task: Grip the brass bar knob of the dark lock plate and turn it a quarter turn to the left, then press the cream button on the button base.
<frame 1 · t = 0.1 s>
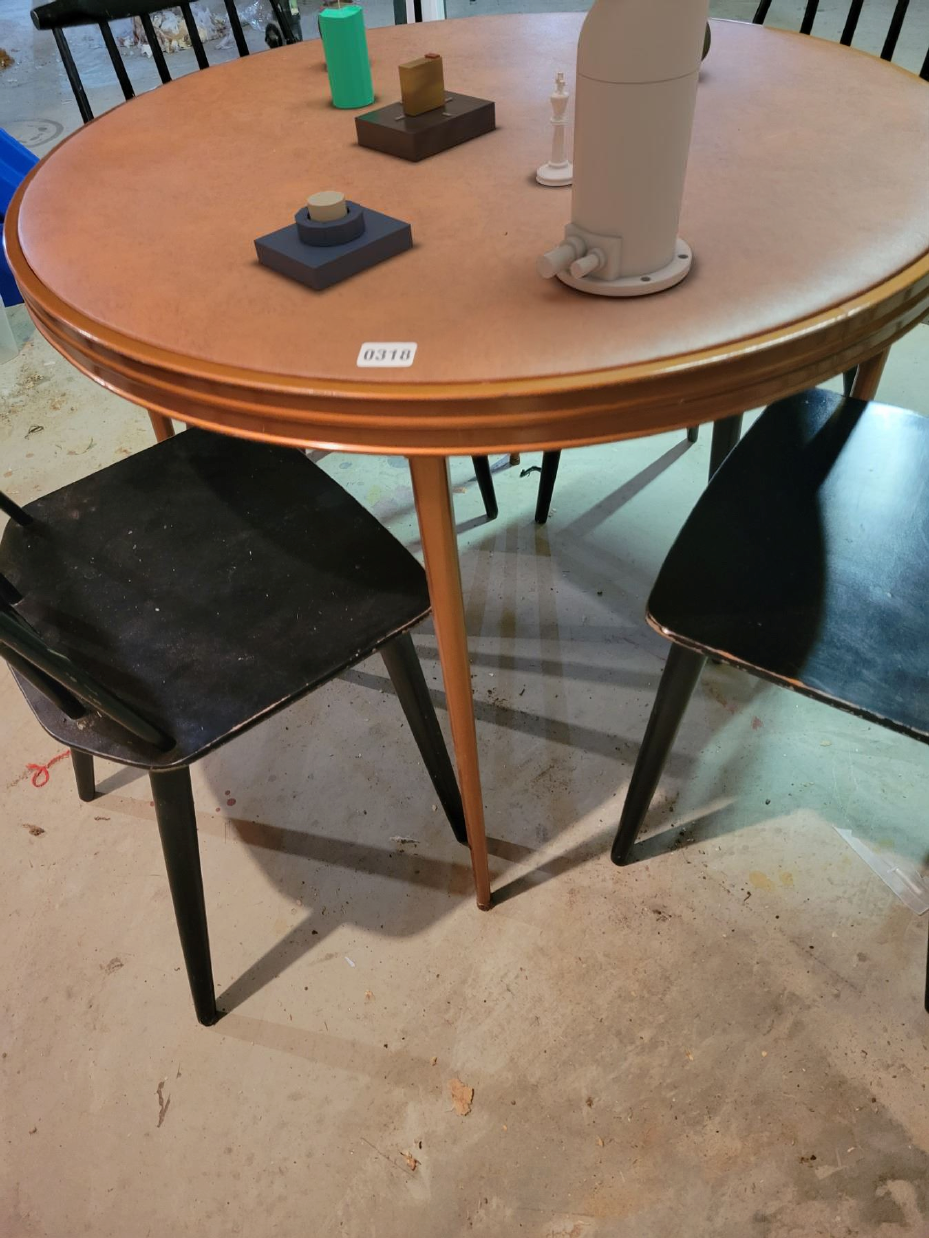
fruit: (660, 77, 109), on the table
mate gourd: (344, 67, 124), on the table
button base: (336, 254, 77), on the table
candle: (354, 103, 111), on the table
lock plate: (427, 136, 99), on the table
chess piece: (557, 180, 87), on the table
bell button: (327, 207, 74), point 4 cm above the table, slide at 0.1 cm
lock knob: (422, 84, 95), point 6 cm above the table, hinge at 0.0°
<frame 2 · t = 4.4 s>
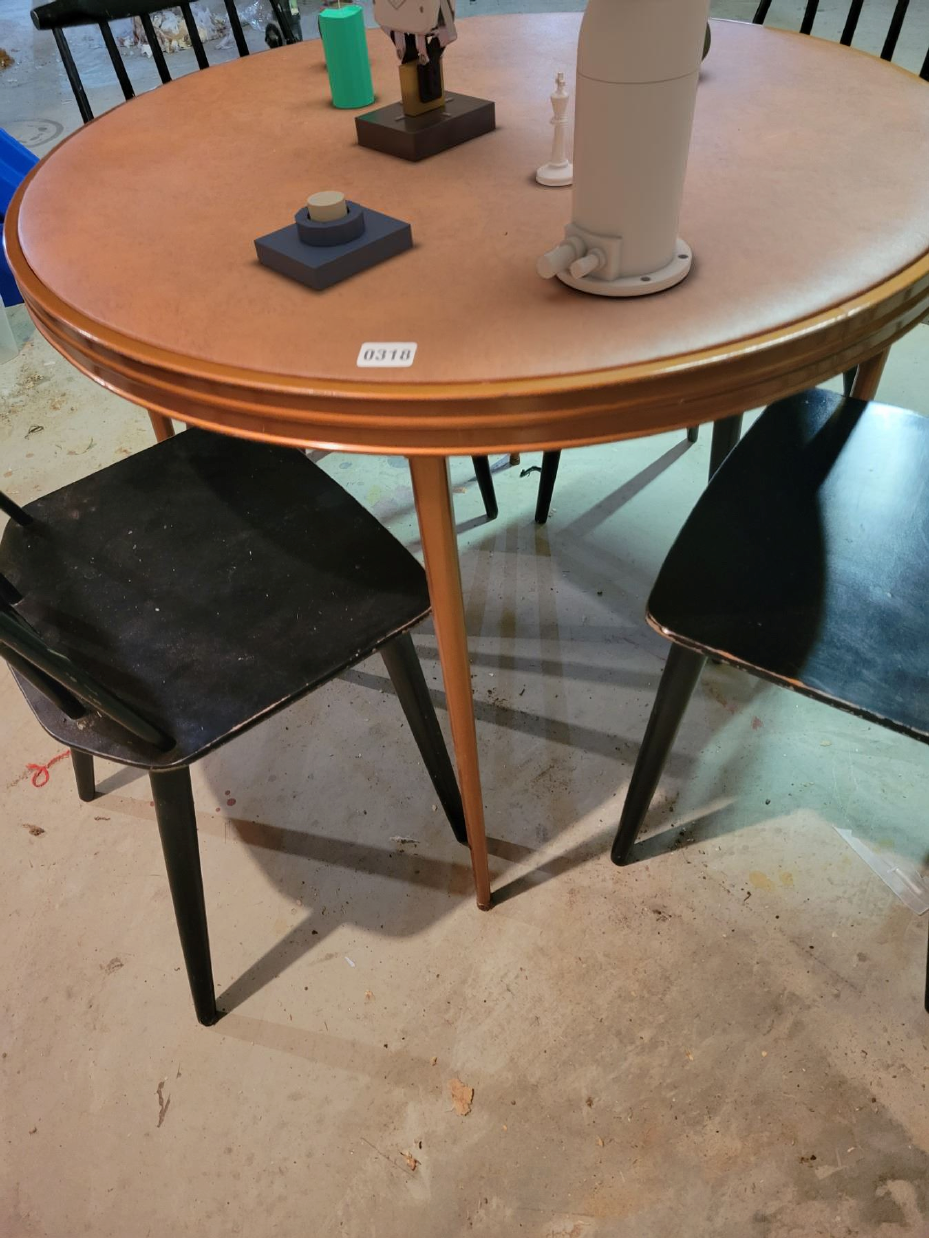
hand: (423, 97, 96), 4 cm above the table, tool pointing down, fingers closed on lock knob, 2 cm apart
lock knob: (422, 84, 95), point 6 cm above the table, hinge at 0.0°, touching gripper
everything else where it was.
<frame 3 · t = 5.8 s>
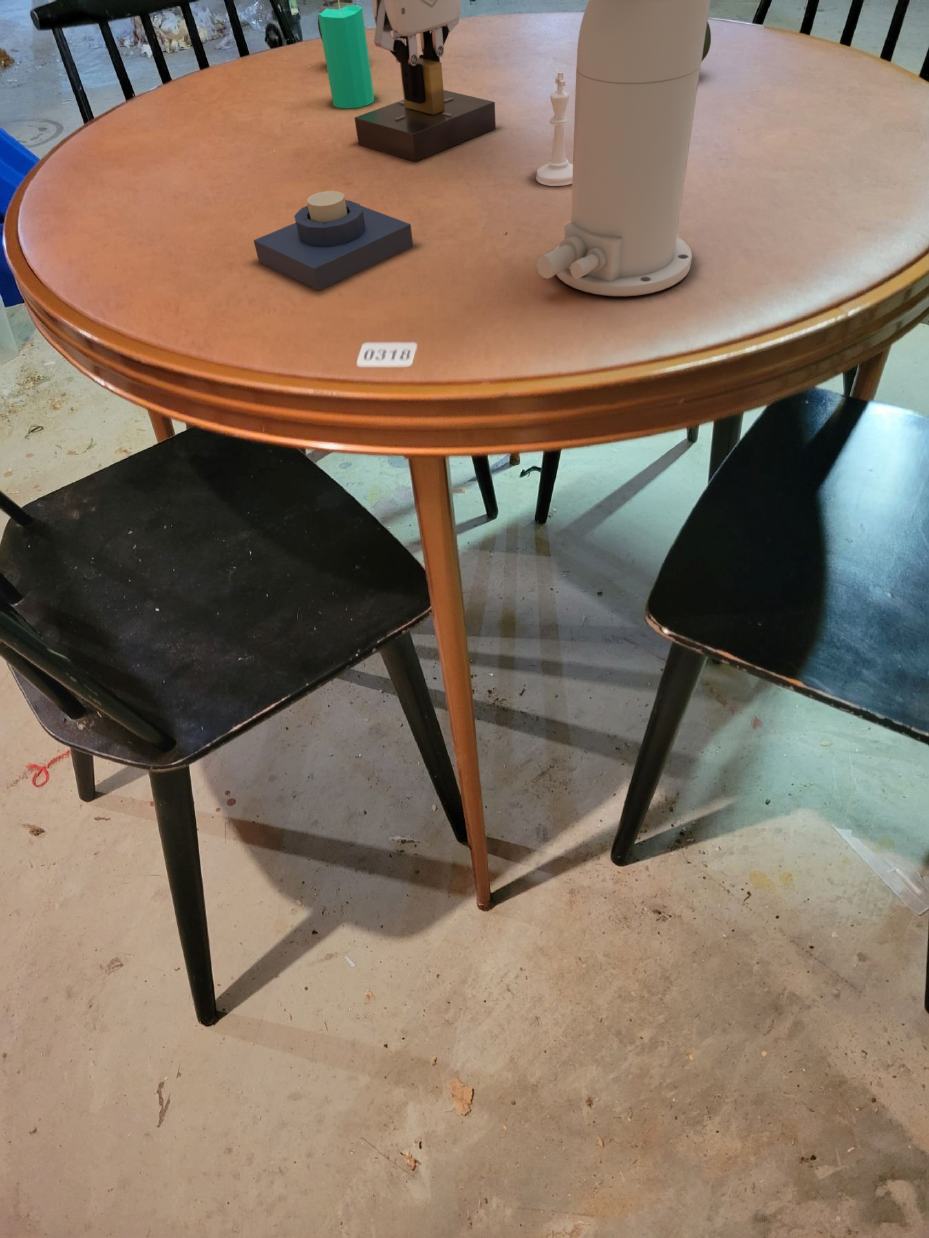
hand: (423, 97, 96), 4 cm above the table, tool pointing down, fingers closed on lock knob, 2 cm apart
lock knob: (422, 84, 95), point 6 cm above the table, hinge at 89.6°, touching gripper
everything else where it was.
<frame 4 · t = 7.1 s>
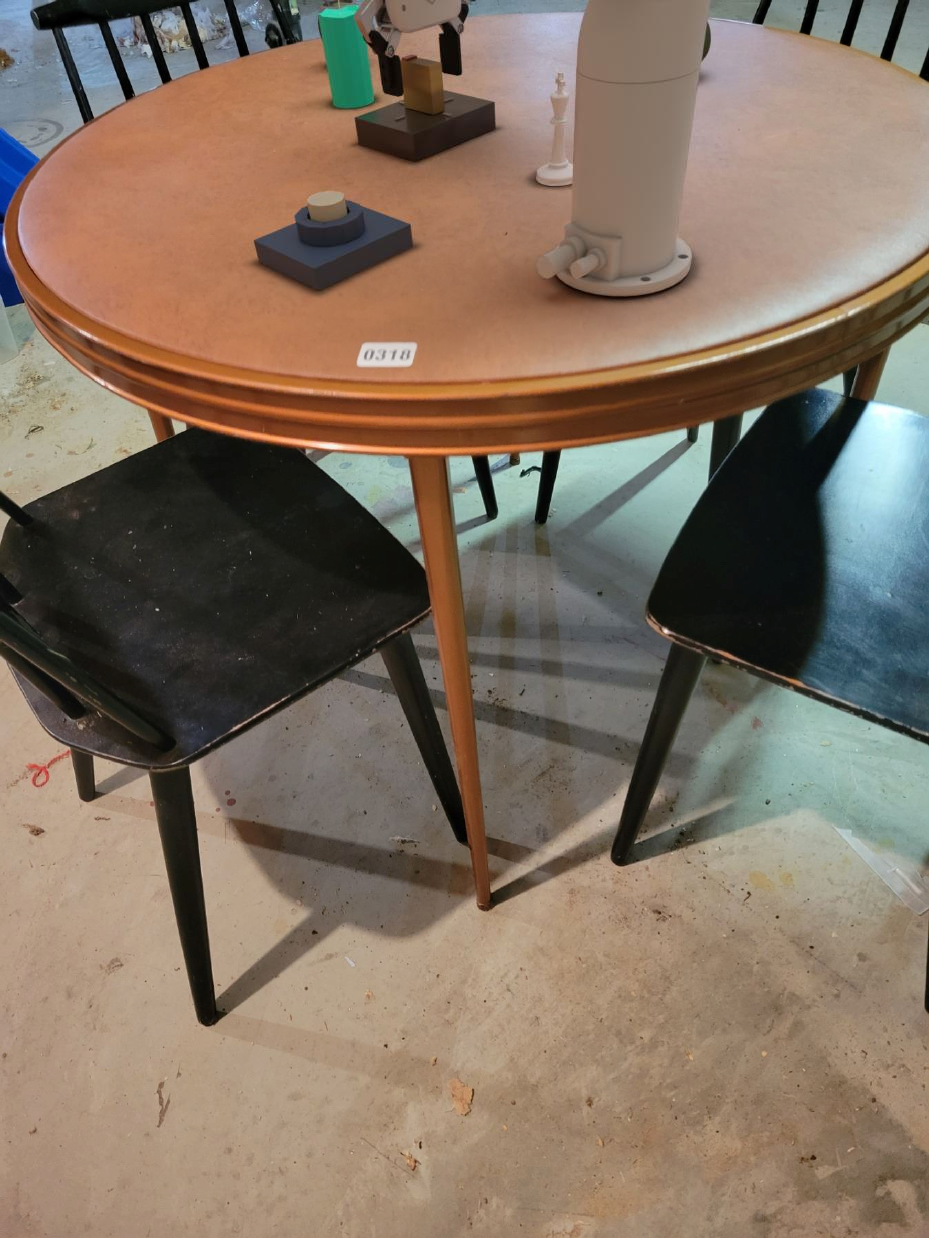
hand: (423, 84, 94), 6 cm above the table, tool pointing down, fingers open, 9 cm apart
lock knob: (422, 84, 95), point 6 cm above the table, hinge at 89.6°
everything else where it was.
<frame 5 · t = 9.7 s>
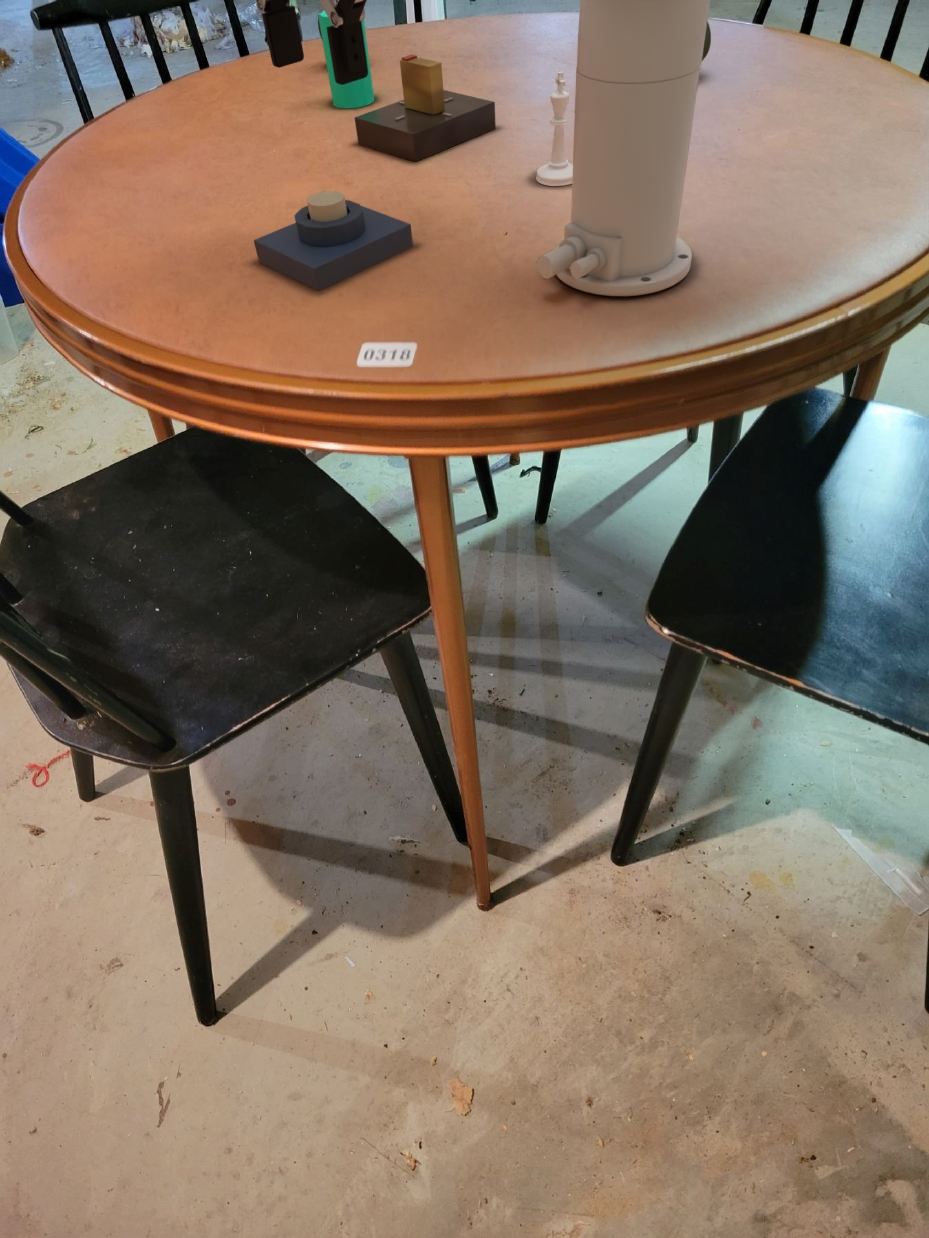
hand: (319, 72, 69), 15 cm above the table, tool pointing down, fingers open, 9 cm apart
nothing on the table moved.
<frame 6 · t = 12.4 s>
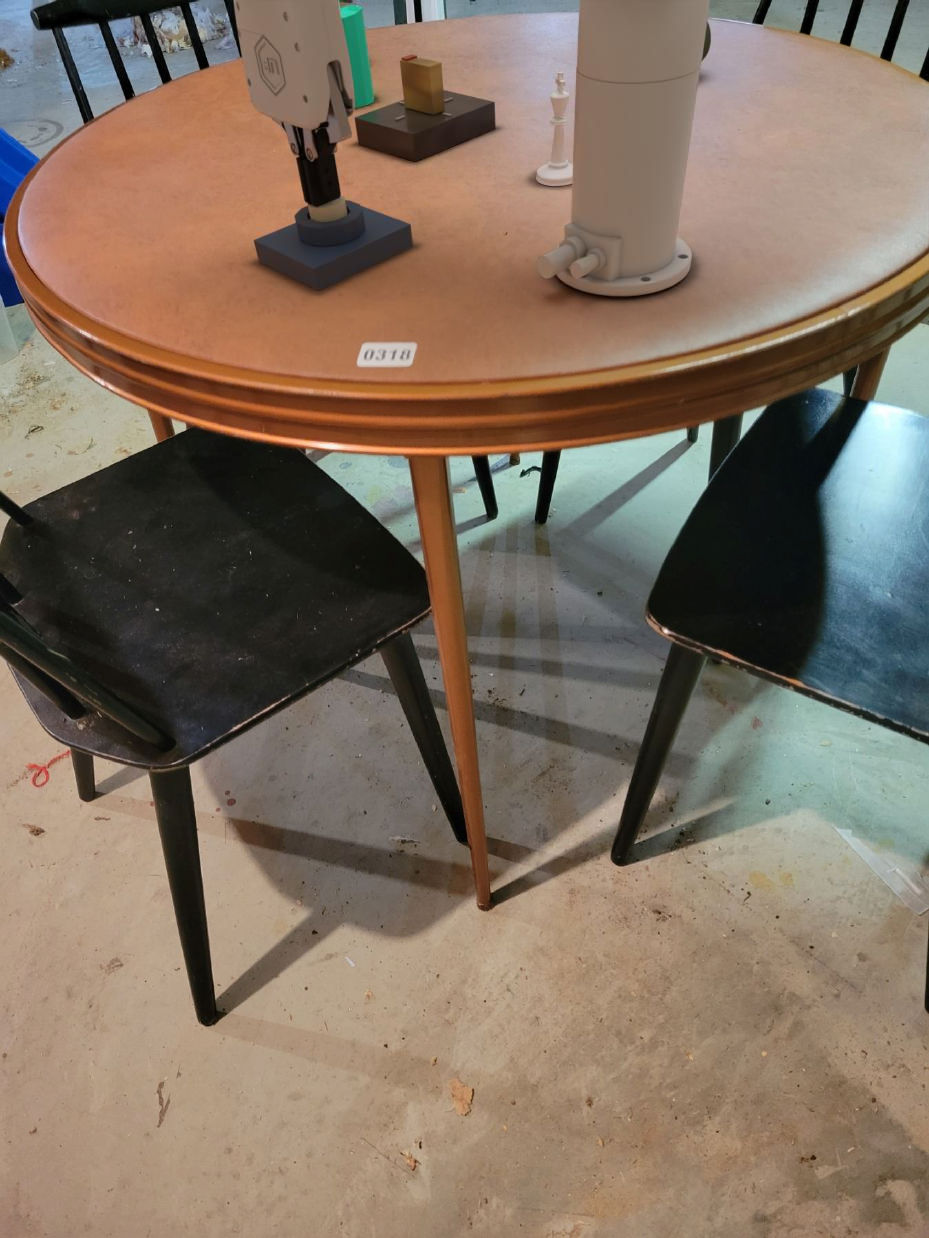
hand: (323, 200, 74), 5 cm above the table, tool pointing down, fingers closed
bell button: (327, 210, 74), point 4 cm above the table, slide at -0.2 cm, touching gripper
everything else where it was.
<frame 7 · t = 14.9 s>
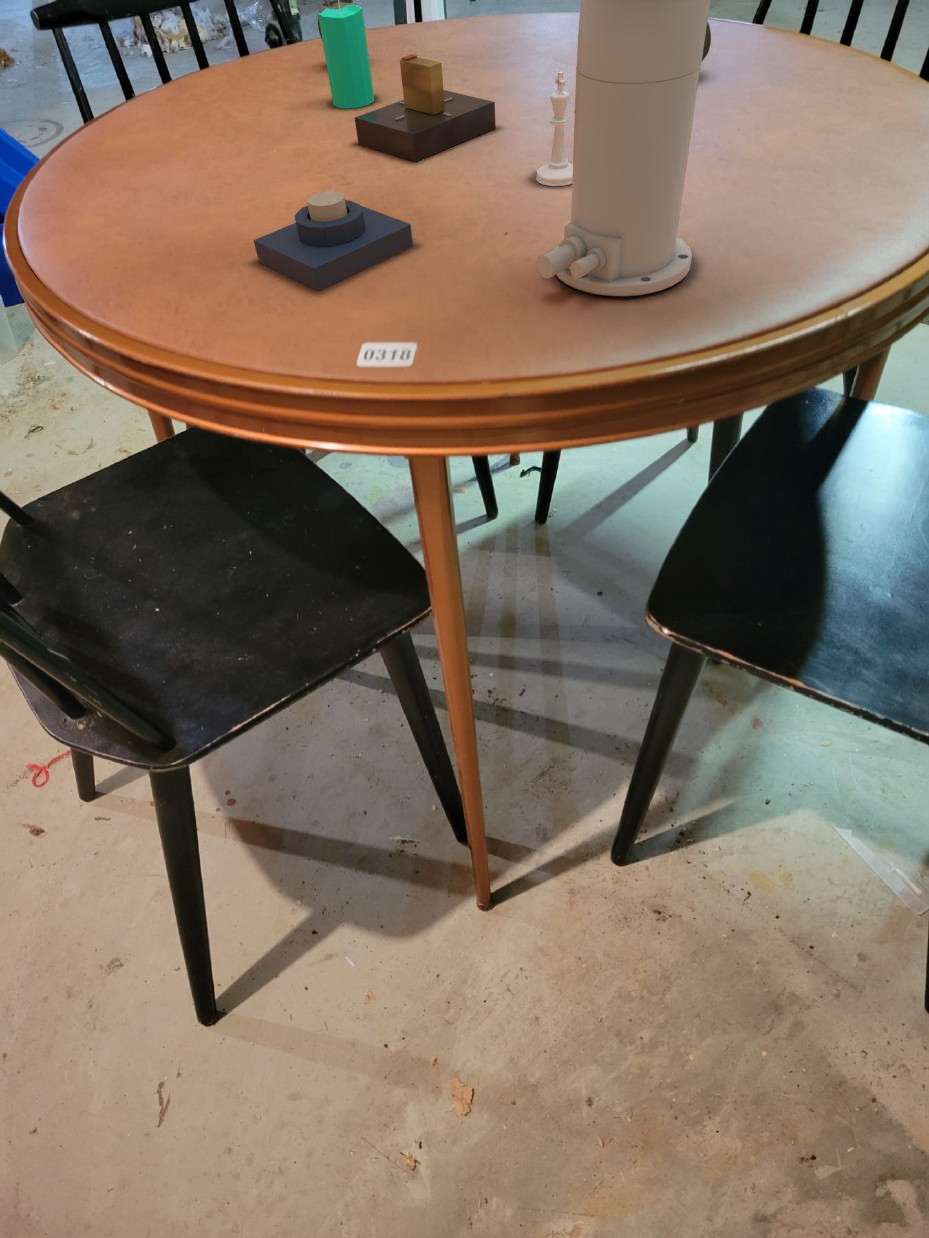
bell button: (327, 207, 74), point 4 cm above the table, slide at 0.1 cm
everything else where it was.
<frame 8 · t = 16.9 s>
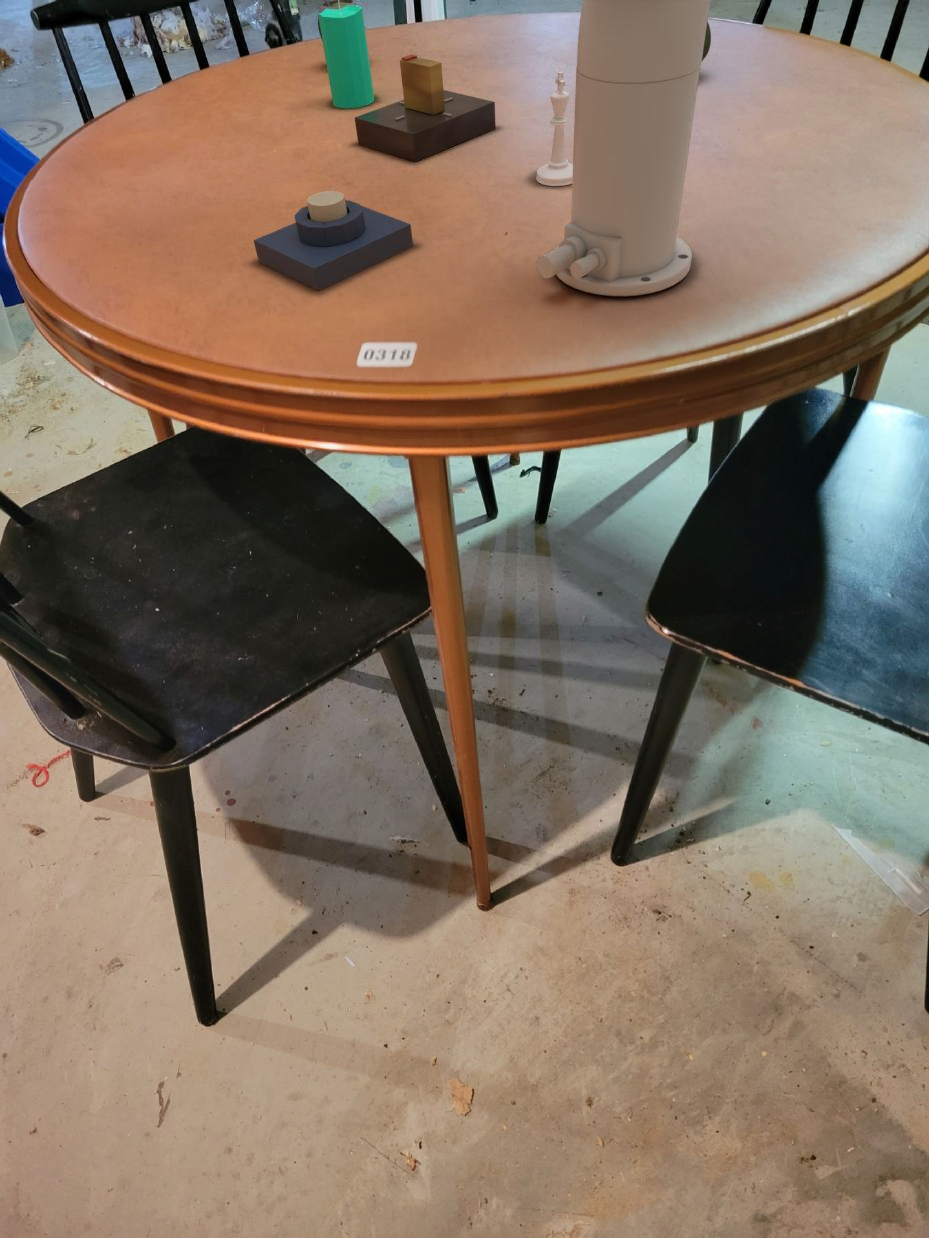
nothing on the table moved.
at the end: lock knob at +90° (first picture: +0°); bell button pushed in 1.1 cm at the most during the clip, back to where it started at the end; bell button slide at 0.1 cm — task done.
